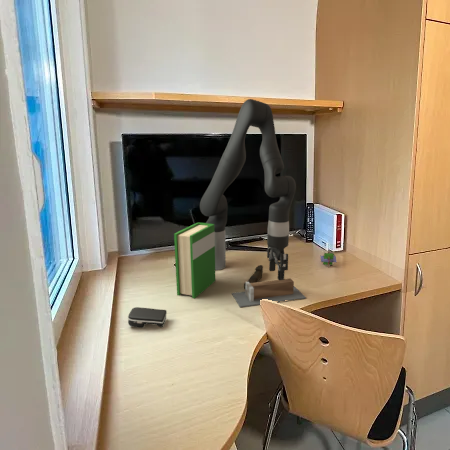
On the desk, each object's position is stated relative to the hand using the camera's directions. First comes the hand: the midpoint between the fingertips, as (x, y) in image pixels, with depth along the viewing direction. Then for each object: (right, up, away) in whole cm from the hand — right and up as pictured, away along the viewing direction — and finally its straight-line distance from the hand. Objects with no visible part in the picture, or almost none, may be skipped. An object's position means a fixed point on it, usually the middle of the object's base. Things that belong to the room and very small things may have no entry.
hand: (276, 275), depth 133 cm
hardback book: (-30, -6, +10) cm, 32 cm away
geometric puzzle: (+28, 0, +31) cm, 41 cm away
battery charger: (-38, -12, -17) cm, 43 cm away
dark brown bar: (-7, -5, +15) cm, 17 cm away
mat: (-3, -8, +1) cm, 9 cm away
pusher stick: (-2, -7, +1) cm, 8 cm away
